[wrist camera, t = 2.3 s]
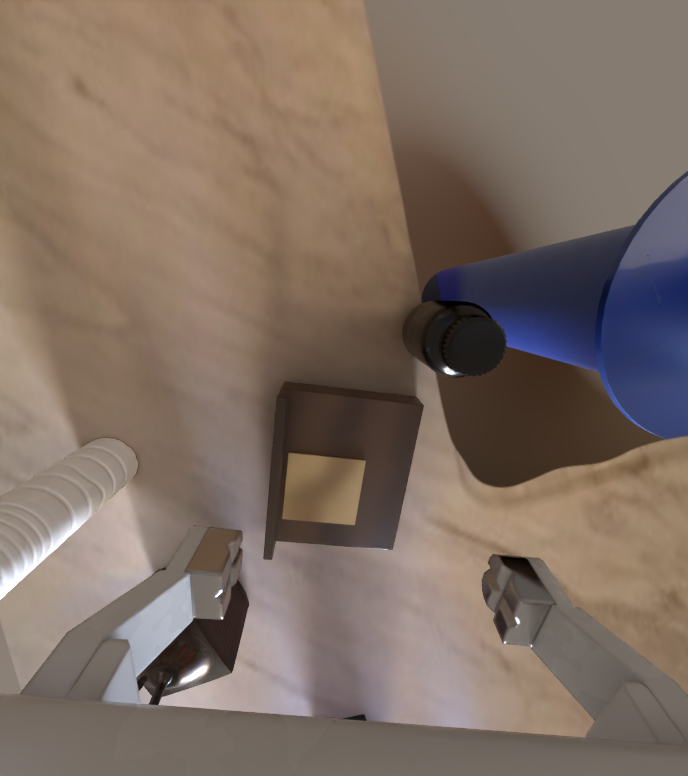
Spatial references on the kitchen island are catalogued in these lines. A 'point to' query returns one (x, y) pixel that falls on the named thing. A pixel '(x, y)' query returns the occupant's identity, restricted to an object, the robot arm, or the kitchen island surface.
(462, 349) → the supplement bottle
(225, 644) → the coffee grinder
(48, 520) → the water bottle
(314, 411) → the shelf
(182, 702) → the kitchen island surface
